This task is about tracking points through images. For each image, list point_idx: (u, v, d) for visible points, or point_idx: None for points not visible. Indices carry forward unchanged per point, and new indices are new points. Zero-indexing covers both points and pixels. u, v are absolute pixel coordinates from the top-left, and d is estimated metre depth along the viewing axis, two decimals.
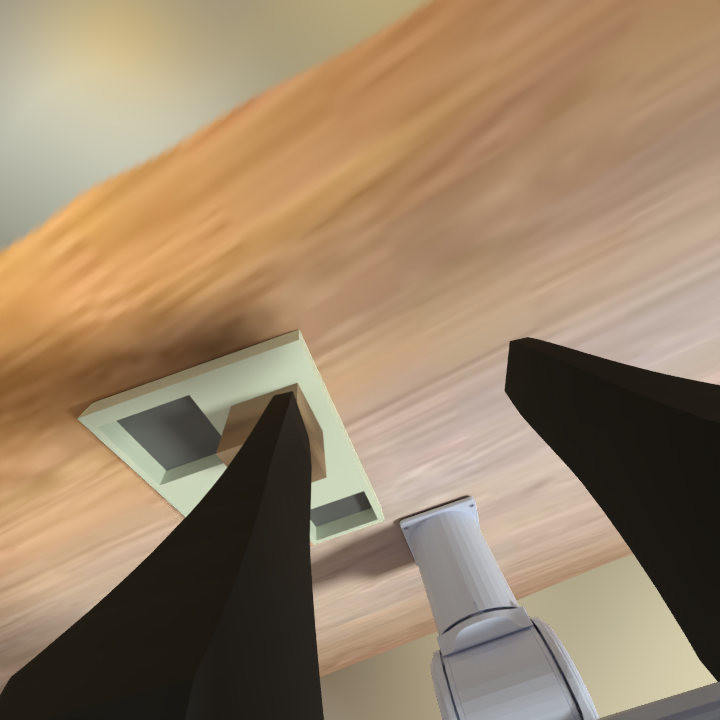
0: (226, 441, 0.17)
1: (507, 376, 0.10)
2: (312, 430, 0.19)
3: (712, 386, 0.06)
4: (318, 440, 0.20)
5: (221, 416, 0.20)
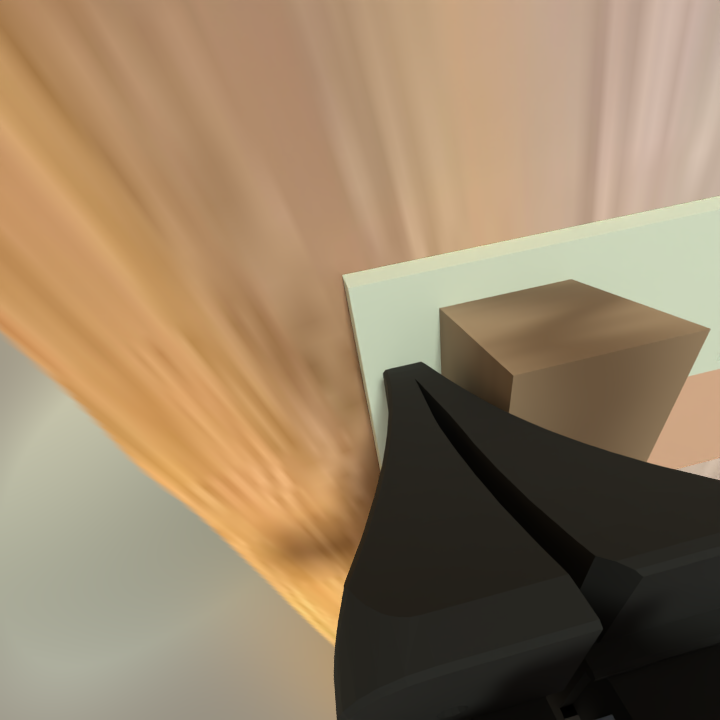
0: None
1: None
2: (554, 315, 0.08)
3: (541, 428, 0.06)
4: (587, 306, 0.08)
5: None
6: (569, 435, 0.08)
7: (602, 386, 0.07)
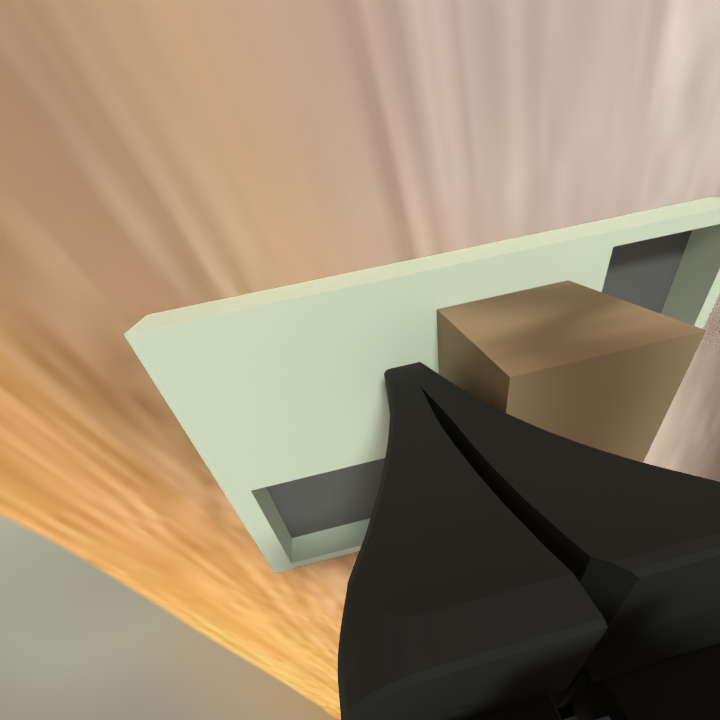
0: None
1: None
2: (550, 317, 0.08)
3: (539, 428, 0.06)
4: (583, 307, 0.08)
5: (299, 464, 0.12)
6: (566, 436, 0.08)
7: (599, 388, 0.07)
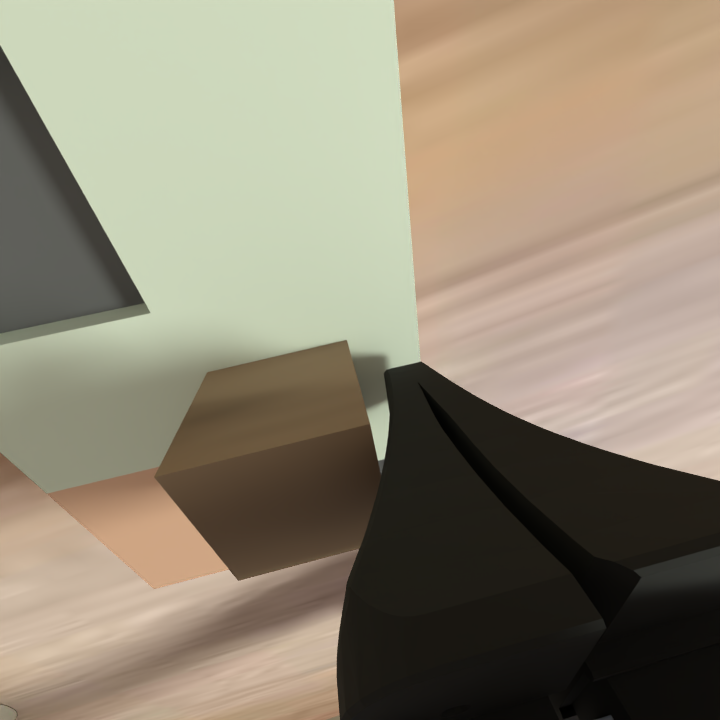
0: (187, 445, 0.07)
1: None
2: None
3: (540, 428, 0.06)
4: None
5: (99, 143, 0.07)
6: (286, 500, 0.07)
7: (346, 499, 0.08)
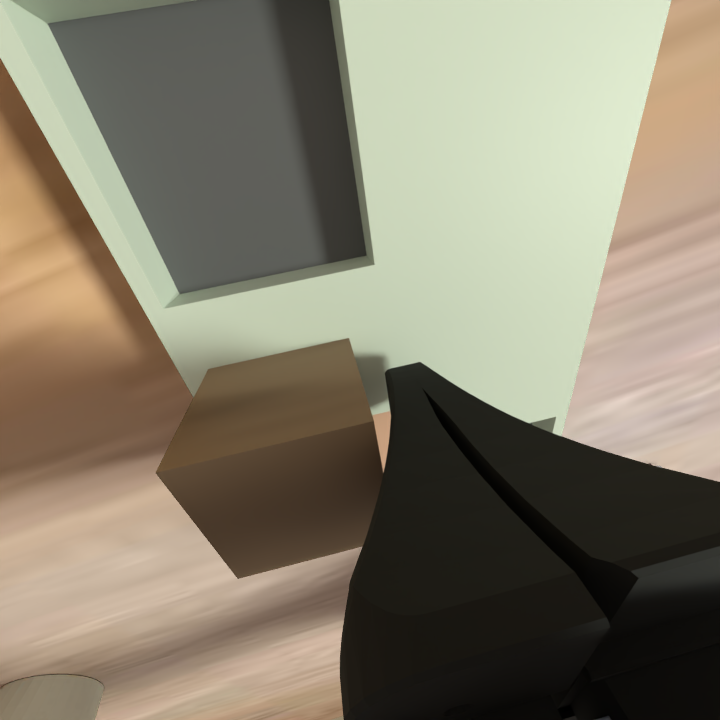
0: (188, 441, 0.07)
1: None
2: None
3: (539, 428, 0.06)
4: None
5: (387, 90, 0.07)
6: (288, 498, 0.07)
7: (349, 497, 0.07)
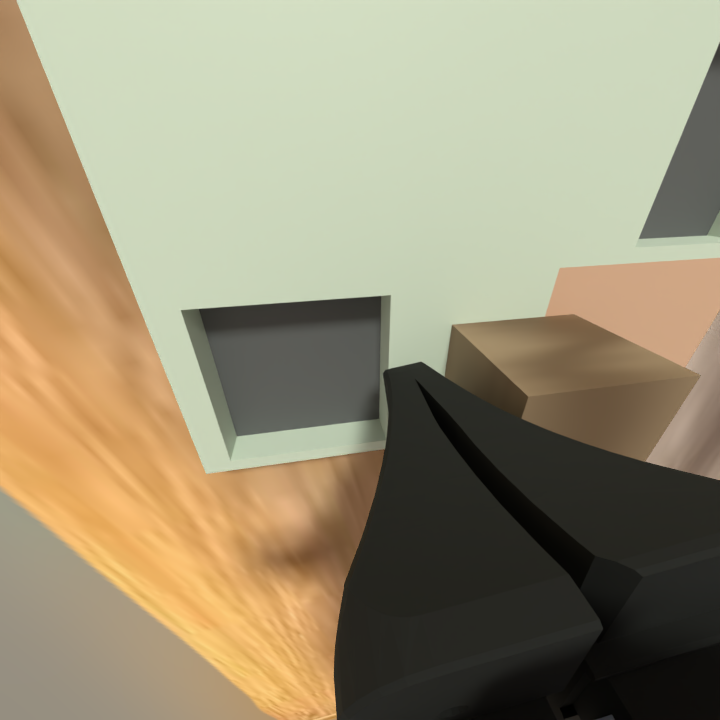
0: None
1: None
2: (561, 345, 0.09)
3: (541, 428, 0.06)
4: (590, 341, 0.09)
5: (258, 275, 0.08)
6: None
7: (602, 417, 0.07)
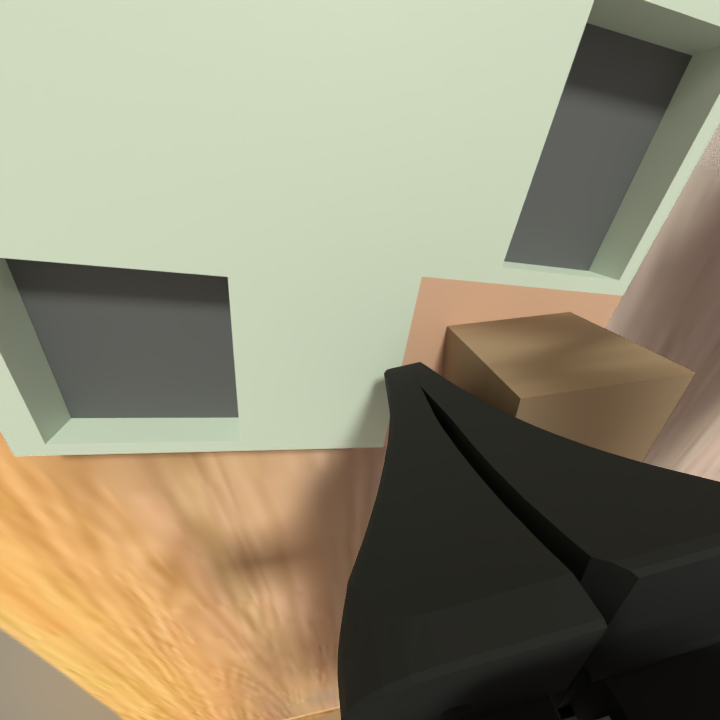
0: None
1: None
2: (555, 345, 0.09)
3: (539, 428, 0.06)
4: (585, 339, 0.09)
5: (53, 227, 0.07)
6: None
7: (597, 416, 0.07)
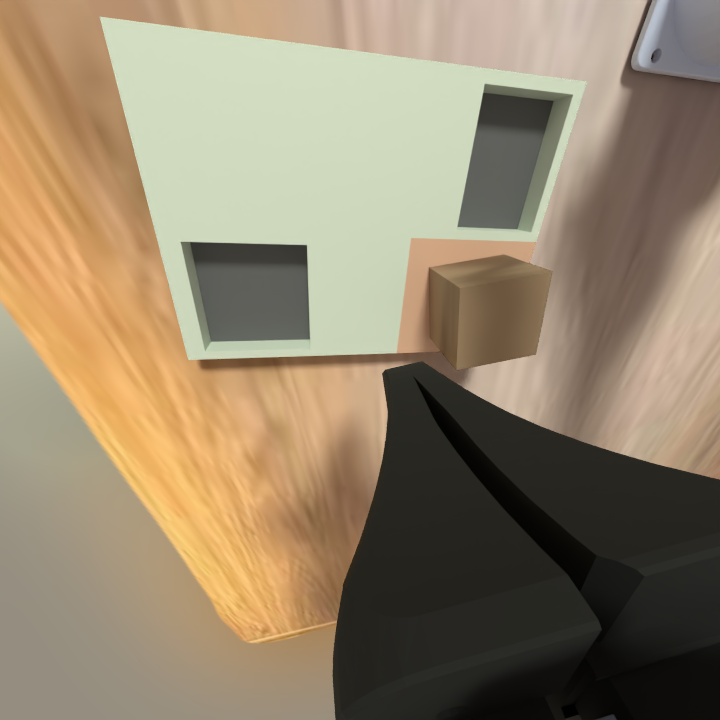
0: (451, 356, 0.17)
1: None
2: (487, 268, 0.16)
3: (542, 427, 0.06)
4: (505, 265, 0.16)
5: (227, 224, 0.15)
6: (491, 326, 0.15)
7: (504, 299, 0.15)
